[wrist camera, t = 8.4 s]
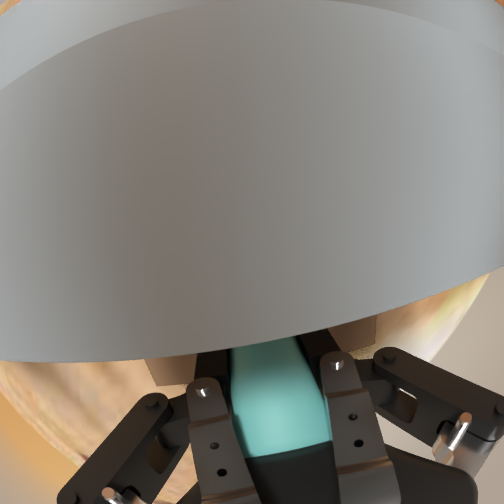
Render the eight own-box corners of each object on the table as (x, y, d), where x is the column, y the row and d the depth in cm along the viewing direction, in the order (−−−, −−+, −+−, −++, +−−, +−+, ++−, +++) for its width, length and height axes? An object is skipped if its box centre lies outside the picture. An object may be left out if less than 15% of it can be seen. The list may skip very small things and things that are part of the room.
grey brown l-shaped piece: (338, 116, 17) (547, 45, 2) (356, 321, 21) (471, 470, 6) (108, 156, 16) (-110, 154, 1) (164, 358, 21) (123, 543, 5)
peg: (279, 282, 15) (348, 423, 6) (285, 330, 16) (340, 473, 7) (222, 293, 15) (223, 449, 6) (233, 341, 16) (246, 493, 6)
